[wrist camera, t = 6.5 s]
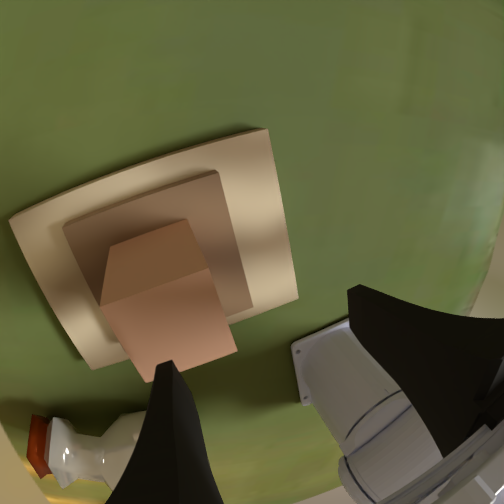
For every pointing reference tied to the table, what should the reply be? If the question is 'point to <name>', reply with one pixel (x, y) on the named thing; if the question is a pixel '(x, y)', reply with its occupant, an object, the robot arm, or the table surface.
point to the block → (164, 301)
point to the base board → (157, 216)
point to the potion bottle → (82, 449)
